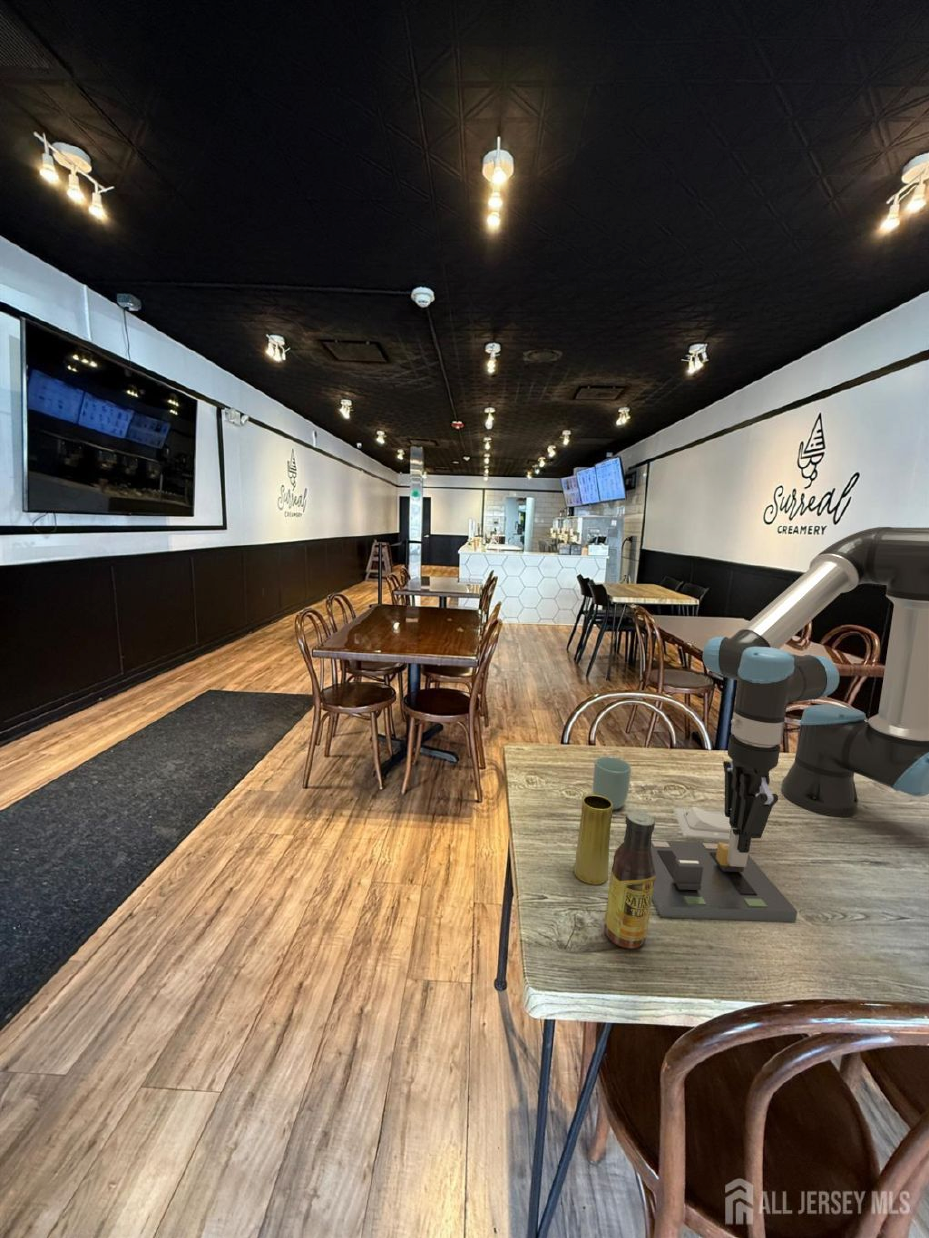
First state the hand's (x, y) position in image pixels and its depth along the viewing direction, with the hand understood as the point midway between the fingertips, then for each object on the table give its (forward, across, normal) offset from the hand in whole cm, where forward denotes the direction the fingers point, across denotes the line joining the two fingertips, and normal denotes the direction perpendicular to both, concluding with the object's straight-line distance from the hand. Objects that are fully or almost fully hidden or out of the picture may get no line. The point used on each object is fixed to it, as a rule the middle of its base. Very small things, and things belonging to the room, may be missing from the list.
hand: (736, 863), depth 90 cm
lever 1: (+2, +3, -10) cm, 11 cm away
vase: (+4, -2, -25) cm, 26 cm away
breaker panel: (+4, -1, -5) cm, 7 cm away
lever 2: (+2, -2, 0) cm, 2 cm away
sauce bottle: (+4, +12, -23) cm, 27 cm away
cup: (+4, -26, -15) cm, 30 cm away
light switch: (+5, -18, +5) cm, 20 cm away
